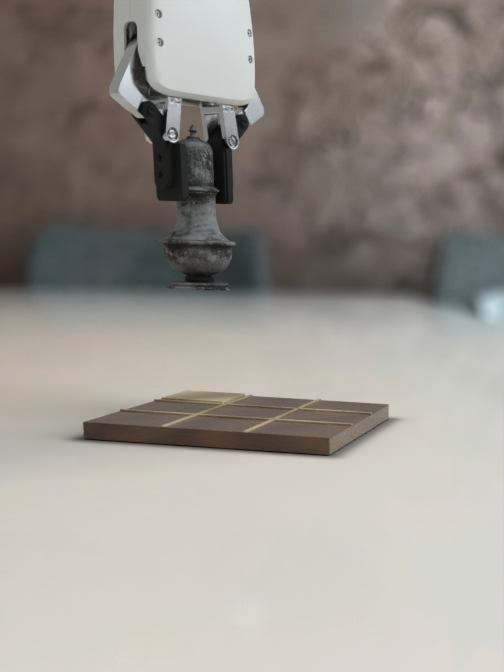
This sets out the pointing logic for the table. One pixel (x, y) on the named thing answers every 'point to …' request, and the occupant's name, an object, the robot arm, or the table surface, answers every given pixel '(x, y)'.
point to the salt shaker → (198, 225)
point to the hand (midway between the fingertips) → (195, 199)
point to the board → (241, 422)
